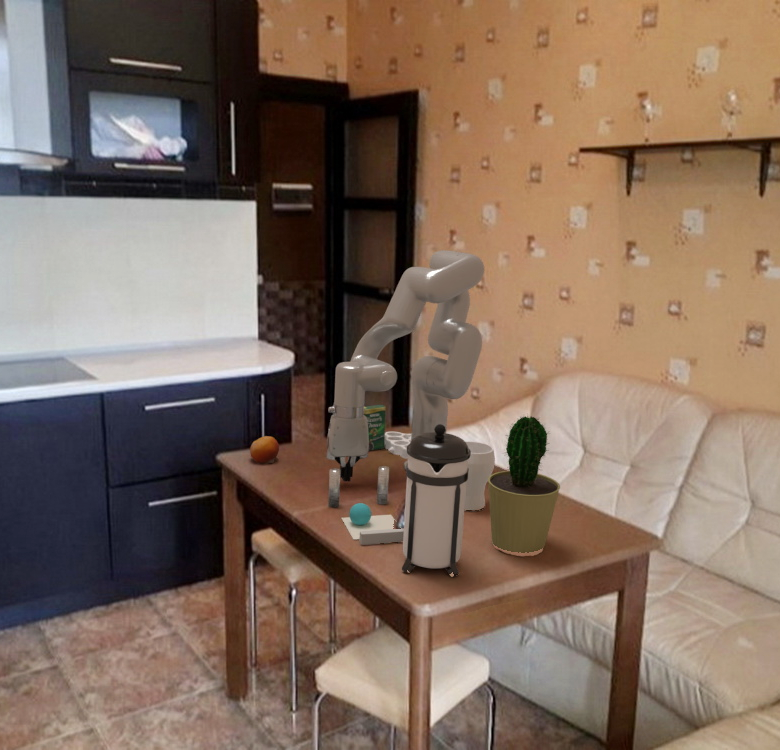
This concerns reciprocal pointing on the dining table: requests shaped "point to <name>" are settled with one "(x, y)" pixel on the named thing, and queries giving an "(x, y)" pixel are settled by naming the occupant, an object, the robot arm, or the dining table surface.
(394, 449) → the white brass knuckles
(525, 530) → the potted cactus
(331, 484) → the outer post
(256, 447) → the fruit
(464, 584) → the dining table surface
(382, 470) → the inner post
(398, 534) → the rail
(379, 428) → the coffee box
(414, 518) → the coffee press
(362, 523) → the ball
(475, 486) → the cup
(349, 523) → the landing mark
